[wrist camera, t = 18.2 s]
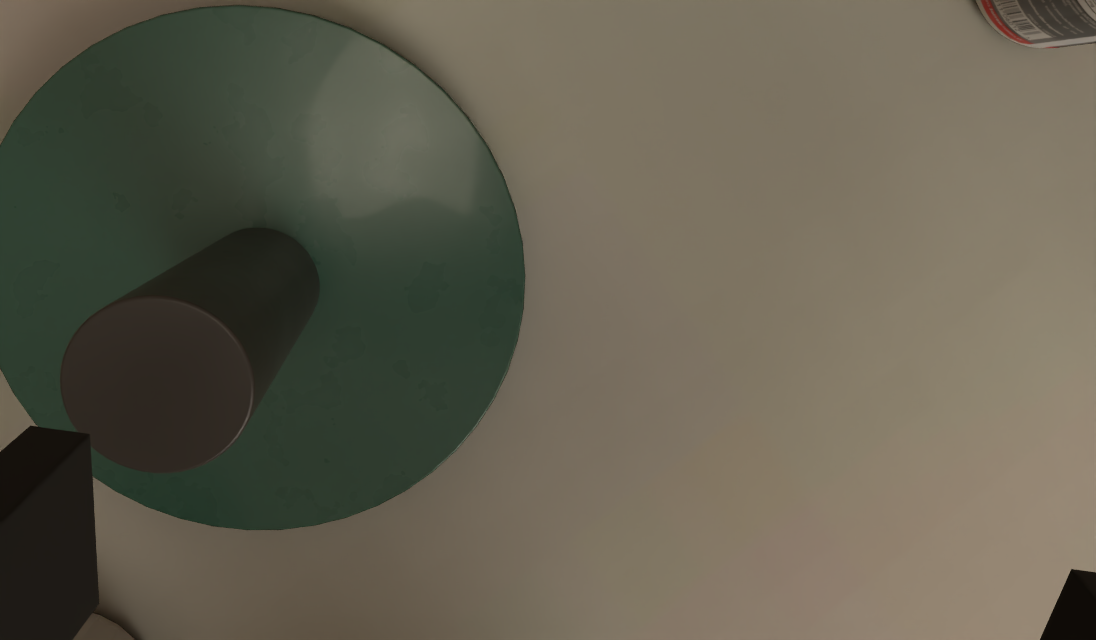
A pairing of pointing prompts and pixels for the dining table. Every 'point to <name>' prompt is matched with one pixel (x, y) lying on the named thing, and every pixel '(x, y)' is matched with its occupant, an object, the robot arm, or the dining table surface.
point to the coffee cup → (101, 630)
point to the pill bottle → (1042, 21)
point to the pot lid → (254, 266)
